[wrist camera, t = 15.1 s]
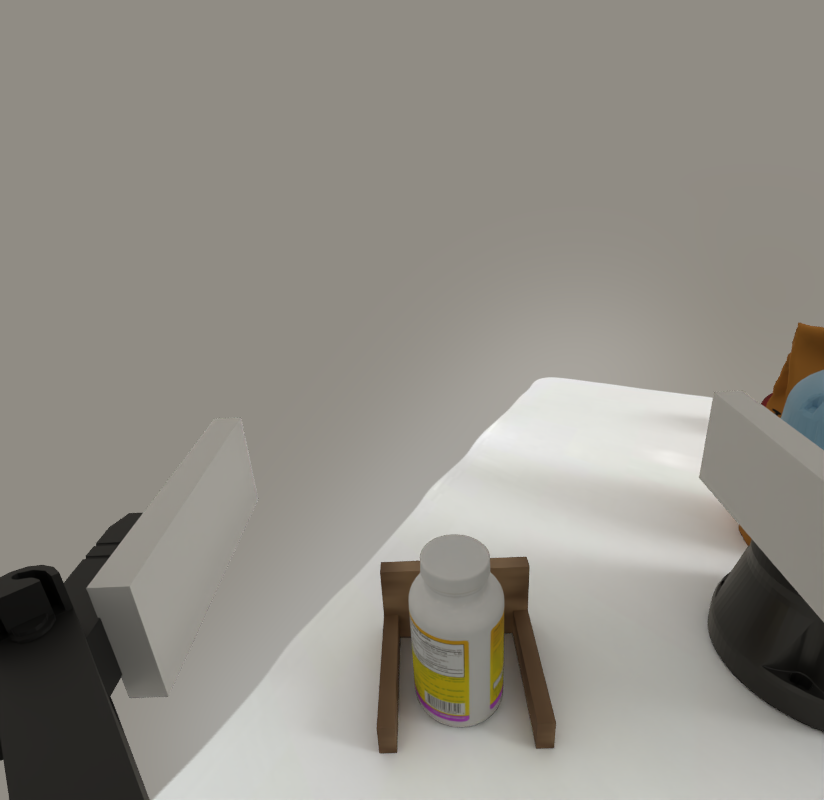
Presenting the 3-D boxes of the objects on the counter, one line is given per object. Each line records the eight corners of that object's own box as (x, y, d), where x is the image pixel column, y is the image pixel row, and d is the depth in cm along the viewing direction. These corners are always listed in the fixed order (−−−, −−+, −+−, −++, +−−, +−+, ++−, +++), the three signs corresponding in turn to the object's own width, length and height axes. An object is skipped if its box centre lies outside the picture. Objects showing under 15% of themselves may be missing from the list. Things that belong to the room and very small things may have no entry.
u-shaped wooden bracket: (523, 621, 48) (526, 556, 45) (554, 747, 38) (559, 673, 35) (386, 626, 48) (381, 562, 45) (379, 753, 38) (371, 679, 35)
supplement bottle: (479, 644, 46) (479, 516, 41) (519, 713, 40) (525, 573, 35) (402, 670, 44) (392, 538, 39) (433, 745, 38) (426, 603, 33)
